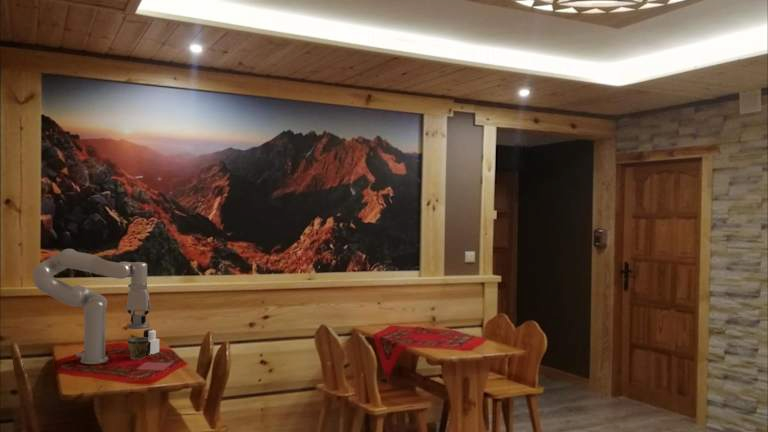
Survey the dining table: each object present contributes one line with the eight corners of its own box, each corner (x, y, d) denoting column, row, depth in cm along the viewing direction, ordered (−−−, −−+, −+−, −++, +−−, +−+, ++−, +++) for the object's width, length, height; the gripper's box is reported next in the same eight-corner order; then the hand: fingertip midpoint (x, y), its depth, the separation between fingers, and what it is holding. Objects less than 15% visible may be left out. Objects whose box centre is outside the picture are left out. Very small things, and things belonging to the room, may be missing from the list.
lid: (123, 328, 333) (123, 316, 333) (131, 324, 344) (131, 312, 344) (145, 329, 333) (145, 317, 333) (153, 324, 344) (153, 313, 344)
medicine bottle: (139, 353, 351) (139, 330, 351) (148, 350, 358) (149, 328, 357) (150, 355, 348) (150, 332, 348) (159, 352, 355) (159, 329, 355)
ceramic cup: (128, 356, 344) (128, 337, 344) (149, 356, 347) (149, 336, 346) (125, 363, 332) (125, 342, 331) (146, 362, 334) (147, 342, 334)
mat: (136, 370, 320) (136, 369, 320) (145, 363, 333) (145, 362, 333) (163, 371, 320) (163, 370, 320) (172, 364, 333) (172, 363, 333)
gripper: (119, 287, 334) (118, 324, 335) (153, 288, 334) (152, 325, 335) (125, 285, 342) (124, 321, 342) (158, 286, 341) (157, 322, 342)
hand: (138, 323), depth 338 cm, fingers closed on lid, 4 cm apart
